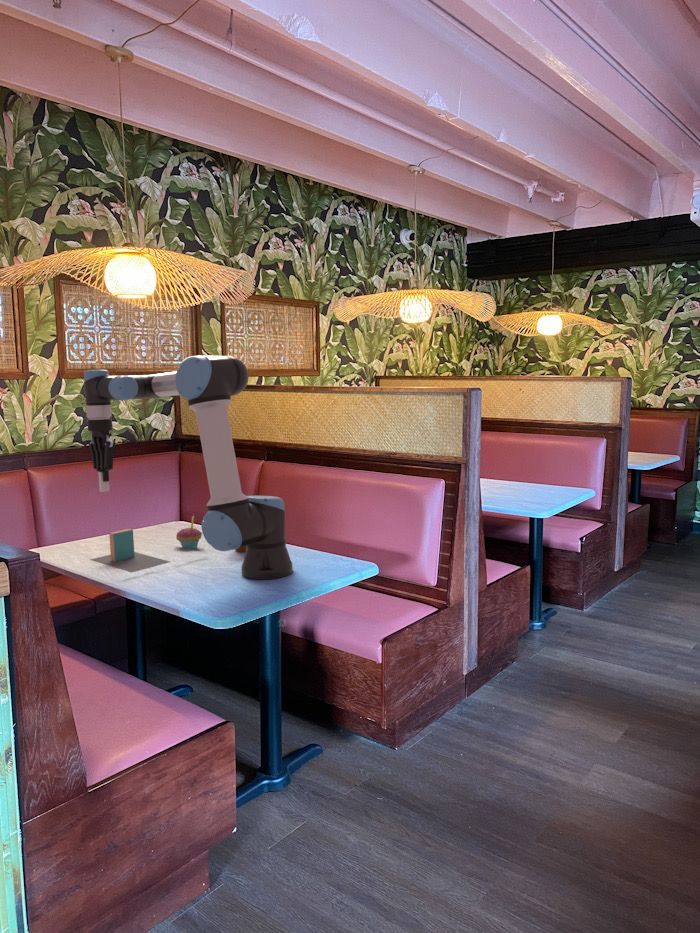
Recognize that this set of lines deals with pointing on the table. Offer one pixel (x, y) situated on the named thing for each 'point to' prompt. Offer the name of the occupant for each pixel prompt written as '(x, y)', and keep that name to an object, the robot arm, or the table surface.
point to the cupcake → (189, 537)
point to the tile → (121, 545)
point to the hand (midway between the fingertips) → (104, 491)
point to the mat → (132, 562)
